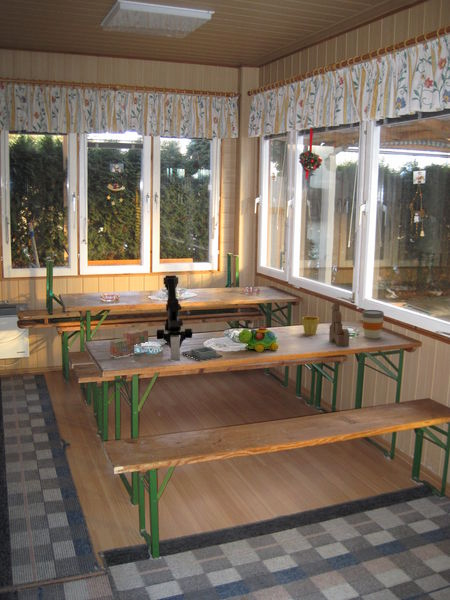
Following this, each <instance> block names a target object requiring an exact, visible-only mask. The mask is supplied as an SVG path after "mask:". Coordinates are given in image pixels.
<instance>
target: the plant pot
mask: <svg viewBox="0 0 450 600" xmlns="http://www.w3.org/2000/svg"><path fill="white" fill-rule="evenodd" d="M301 324H302V326H303V332H304V335H306V336H314V335H316V333H317V329H318V326H319V324H320V318H319V317H317V316H311V315H309V316H303V317H301Z"/></svg>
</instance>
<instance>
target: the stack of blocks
mask: <svg viewBox="0 0 450 600" xmlns="http://www.w3.org/2000/svg"><path fill="white" fill-rule="evenodd" d="M145 342H148V343H149V330H148V329H144V328H137V329H136V328H135V329H132V330H128V331H123V337H120V338H116V339H112V340H110V341H109V346H110V347H109V355H113V356H116V357H119V356H124V355H128V354H131V353H134V345H136V344H140V343H145Z"/></svg>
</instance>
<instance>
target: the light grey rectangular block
mask: <svg viewBox="0 0 450 600" xmlns="http://www.w3.org/2000/svg"><path fill="white" fill-rule="evenodd" d="M170 340H171V348H170V361H171V360H175V361H181V354H180V353H181V352H180V351H181V350H180V349H181V347H180V335H170Z"/></svg>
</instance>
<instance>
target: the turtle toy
mask: <svg viewBox="0 0 450 600" xmlns="http://www.w3.org/2000/svg"><path fill="white" fill-rule="evenodd" d="M277 339H278V336H276V333H275V332H274V331H271V330H269V329H268V328H266V327H258V328H257V329H251V330H250V329H243V330H242V331H240V332H239V333H238V336H237V340H238V341H239V342H240V344H241V343H242V344H246V347H247V348H246V349H248V348H249V349H250V350H255V351H256V352H257V353H262V352H263V351H264V350H267V349H268V350H269V349H270V350H271V351H277V350H279V344H278V343H277ZM247 344H248V345H247ZM249 349H248V350H249Z"/></svg>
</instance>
